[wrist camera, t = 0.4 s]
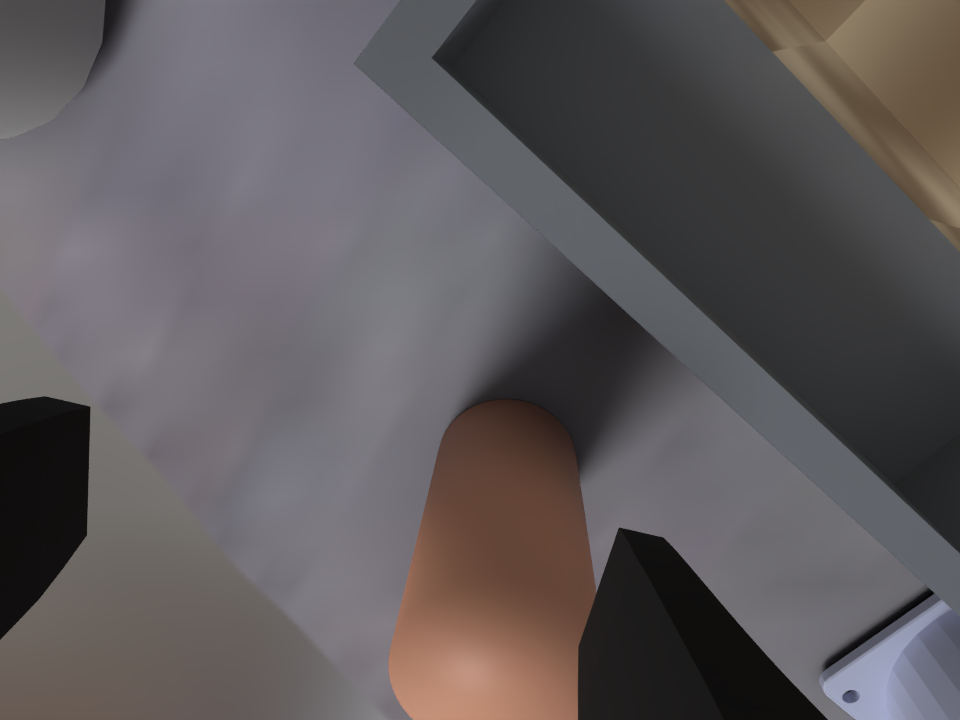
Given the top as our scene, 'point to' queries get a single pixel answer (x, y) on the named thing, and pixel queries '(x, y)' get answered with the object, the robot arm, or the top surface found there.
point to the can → (44, 58)
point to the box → (741, 208)
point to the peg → (497, 574)
